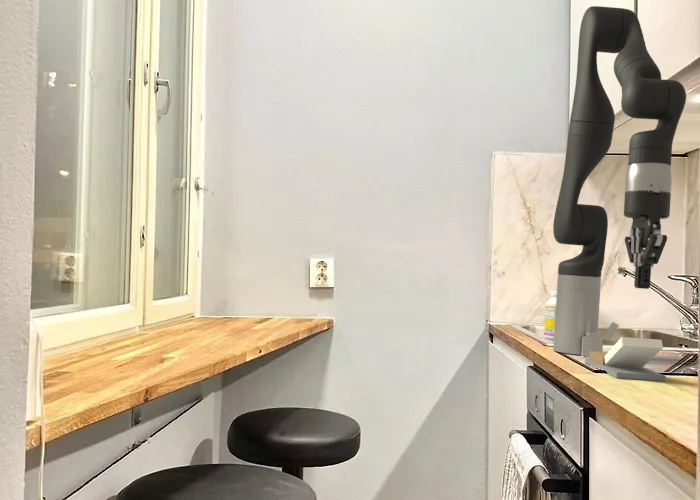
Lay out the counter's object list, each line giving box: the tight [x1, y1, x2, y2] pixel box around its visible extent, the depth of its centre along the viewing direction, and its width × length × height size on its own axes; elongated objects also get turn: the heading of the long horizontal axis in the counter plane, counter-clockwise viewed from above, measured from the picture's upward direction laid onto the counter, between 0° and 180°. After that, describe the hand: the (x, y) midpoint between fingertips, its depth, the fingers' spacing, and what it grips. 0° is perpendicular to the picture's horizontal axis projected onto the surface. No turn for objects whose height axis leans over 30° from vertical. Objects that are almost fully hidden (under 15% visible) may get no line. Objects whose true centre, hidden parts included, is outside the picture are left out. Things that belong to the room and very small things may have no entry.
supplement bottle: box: [543, 289, 557, 341], centre depth 182 cm, size 7×7×13 cm
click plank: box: [604, 336, 664, 368], centre depth 124 cm, size 9×7×2 cm
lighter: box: [580, 321, 620, 358], centre depth 147 cm, size 7×2×8 cm, turn 74°
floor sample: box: [584, 351, 667, 382], centre depth 128 cm, size 17×8×3 cm, turn 179°
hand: (642, 288), depth 122 cm, fingers closed
